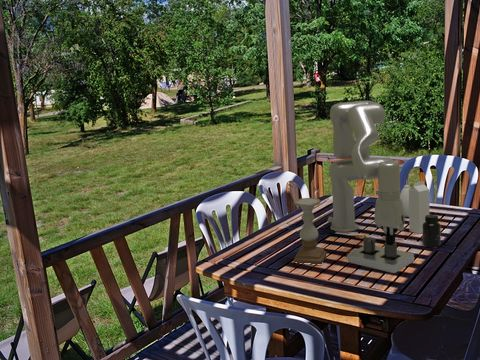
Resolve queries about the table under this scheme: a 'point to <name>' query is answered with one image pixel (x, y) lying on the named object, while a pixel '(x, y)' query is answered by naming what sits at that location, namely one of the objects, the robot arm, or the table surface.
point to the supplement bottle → (431, 231)
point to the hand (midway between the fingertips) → (390, 243)
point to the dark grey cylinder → (390, 251)
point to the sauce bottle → (405, 199)
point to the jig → (379, 257)
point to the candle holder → (309, 234)
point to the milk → (418, 207)
